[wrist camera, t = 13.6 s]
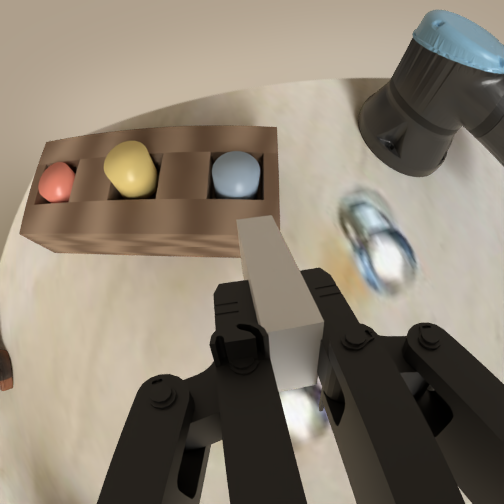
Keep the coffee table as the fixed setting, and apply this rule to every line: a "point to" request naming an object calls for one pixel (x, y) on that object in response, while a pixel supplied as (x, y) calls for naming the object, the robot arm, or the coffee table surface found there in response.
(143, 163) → the mustard button
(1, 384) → the pottery mug
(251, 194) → the slate button
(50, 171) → the red button
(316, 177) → the coffee table surface
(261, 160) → the console
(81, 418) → the coffee table surface
